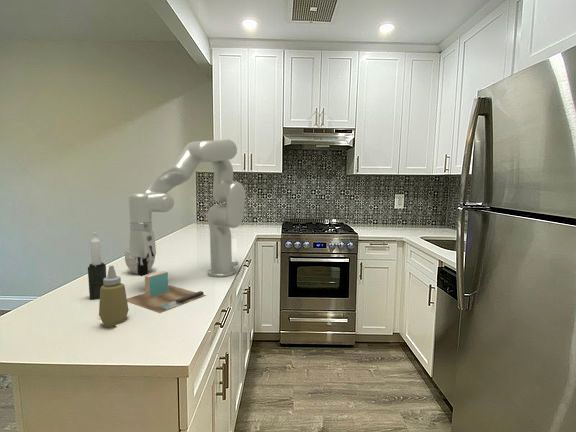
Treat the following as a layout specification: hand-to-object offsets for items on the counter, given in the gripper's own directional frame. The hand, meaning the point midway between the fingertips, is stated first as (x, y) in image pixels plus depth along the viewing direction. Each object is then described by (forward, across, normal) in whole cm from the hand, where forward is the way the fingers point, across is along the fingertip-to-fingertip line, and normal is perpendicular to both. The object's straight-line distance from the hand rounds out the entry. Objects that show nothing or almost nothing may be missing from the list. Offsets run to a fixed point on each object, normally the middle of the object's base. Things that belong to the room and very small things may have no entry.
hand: (142, 274), depth 131 cm
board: (+8, -12, 0) cm, 15 cm away
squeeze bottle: (+8, -16, +21) cm, 27 cm away
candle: (+8, +8, +13) cm, 17 cm away
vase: (+8, +28, -17) cm, 34 cm away
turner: (+6, -20, -1) cm, 22 cm away
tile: (+6, -8, 0) cm, 10 cm away
